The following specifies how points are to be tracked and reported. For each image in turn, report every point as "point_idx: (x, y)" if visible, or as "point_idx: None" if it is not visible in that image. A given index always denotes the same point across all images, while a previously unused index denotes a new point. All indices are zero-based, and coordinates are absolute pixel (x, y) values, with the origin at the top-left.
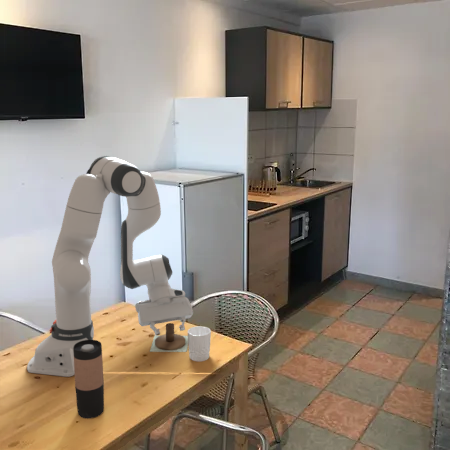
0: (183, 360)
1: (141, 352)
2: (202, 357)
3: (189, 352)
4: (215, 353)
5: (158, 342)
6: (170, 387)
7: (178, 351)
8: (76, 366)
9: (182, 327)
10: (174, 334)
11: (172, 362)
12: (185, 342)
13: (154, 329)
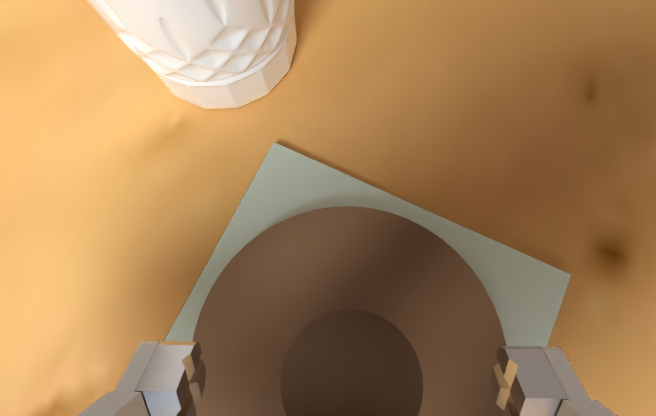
0: (344, 56)
1: (636, 317)
2: None
3: (289, 26)
4: (88, 61)
5: (476, 362)
6: None
7: (334, 172)
8: None
9: (167, 353)
10: None
11: (428, 60)
12: None
13: (599, 413)
